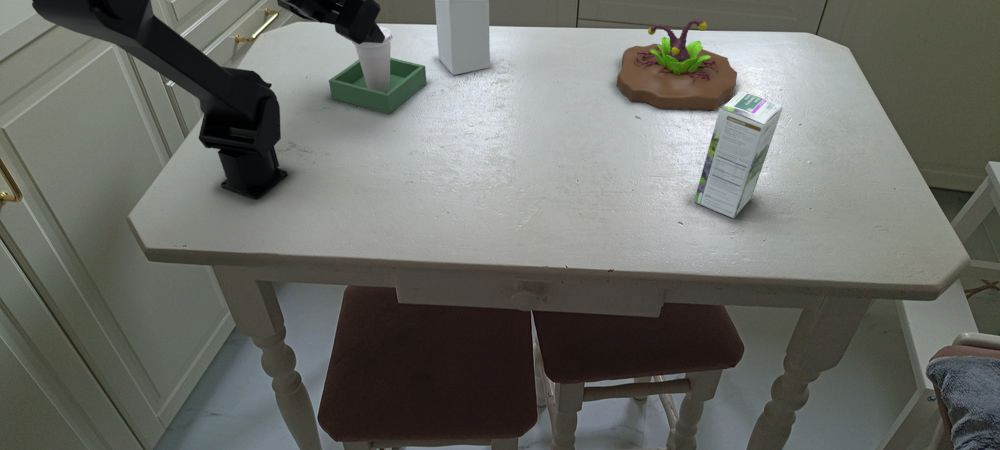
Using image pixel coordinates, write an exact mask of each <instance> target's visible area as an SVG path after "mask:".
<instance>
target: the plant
mask: <svg viewBox="0 0 1000 450" xmlns="http://www.w3.org/2000/svg"><path fill="white" fill-rule="evenodd" d="M694 24H695V25H696V27H697V29H698V30H699V31H701V32H703V31H706V29H708V24H707V22H705V21H704V20H703V19H699V18H697V19H695V18H693V19H692V20H690V21H689V22H688V23H687V24H686V25H684V28H683V29H682V30H681V33H680V36H679V38H678V37H677V36H676V35H675V32H674V31H673V30H671V29H672V28H669V27H668V26H666V25H664V24H656V25H651V26H650V27H649V28H648V29H647V33H648V34H649V35H650V36H652V35H654V34H656V31H657V29H661V30H663V31H665V32H666V33H667V36H668V37H669V38H667V37H665V36H663V37H661V43H652V44H649V45H643V46H641V45H634V46H631V47H628V48H627V49H625V50H624V51H623V53H622V57H621V58H622V59H621V69H620V71H619V72H618V73H617V77H616V86H617V87H618V88H619V90H620V92H621V93H622V94H623V95H624V96H625V97H627V98H628V99H629V101H630V102H633V103H634V102H640V103H645V104H646V103H647V104H649V105H651V106H654V107H655V108H657V109H664V110H665V109H671V110H672V109H673V110H701V111H702V110H703V111H715V110H716V109H718V108H719V106H721V105H722V104H723V103H725V102H728V101H730V100H731V99H732V97H733V95H734V92H735V89H736V83H737V77H738V72H737V71H736V70H735V69H734V68H732V67H731V65H730V61H729V59H728V57H726V56H724V55H720V54H717V53H715V52H712V51H709V50H707V49H704V46H703V45H702V41H701V40H695V41H692V42H690V43H689V44H687V37H688V33H689V30H690V28H691V27H692V25H694Z"/></svg>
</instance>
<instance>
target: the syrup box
mask: <svg viewBox="0 0 1000 450" xmlns="http://www.w3.org/2000/svg"><path fill="white" fill-rule="evenodd" d="M783 109H784V107H783V106H782V105H781V104H778V103H776V102H774V101H772V100H770V99H767V98H765V97H762V96H759V95H756V94H753V93H749V92H745V91H738V92H737V93H736V94H735V95H734V96H732V97H731V98H730V99H729V100H728V101H727V102H726V103H725V104H724V105H723V106H722V107H721V108H719V111H718V112H717V113H718V114H717V118H716V121H715V125H714V128H713V132H712V134H711V135H712V136H711V138H710V142H709V146H708V150H707V153H706V157H705V160H704V164H703V167H702V170H701V171H702V172H701V174H700V178H699V182H698V185H697V189H696V193H695V196H694V200H693V201H694V203H696V204H698V205H700V206H703V207H705V208H708V209H709V210H712V211H713V212H716V213H720V214H721V215H723V216H727V217H730V218H731V219H735V218H736V217H737V216H738V214H739V213H740V212H741V211H742V210H743V209H744V207H745V206H746V205H747V204H748V203H749V201H750V200H751V199H752V198H753V195H754V192H755V189H756V186H757V185H758V181H759V178H760V175H761V172H762V169H763V166H764V164H765V160H766V158H767V155H768V152H769V149H770V146H771V143H772V140H773V137H774V135H775V132H776V129H777V126H778V123H779V119H780V118H781V114H782V112H783Z"/></svg>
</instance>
